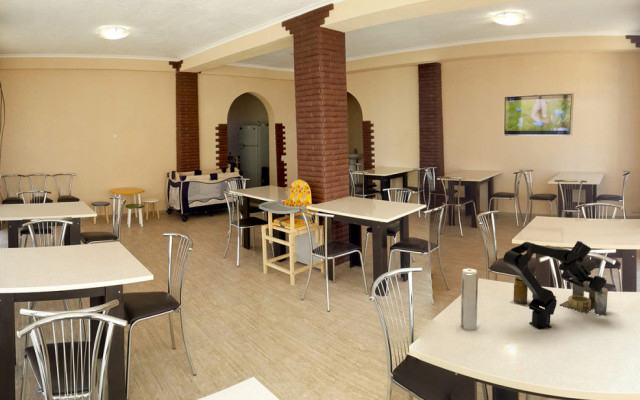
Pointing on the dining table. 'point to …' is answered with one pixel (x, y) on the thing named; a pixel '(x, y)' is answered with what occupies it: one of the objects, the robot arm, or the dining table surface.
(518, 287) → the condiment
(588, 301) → the collar stand
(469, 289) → the silver cylinder
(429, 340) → the dining table surface
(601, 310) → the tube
